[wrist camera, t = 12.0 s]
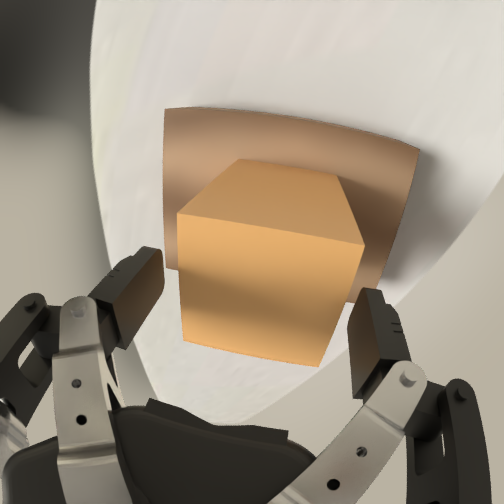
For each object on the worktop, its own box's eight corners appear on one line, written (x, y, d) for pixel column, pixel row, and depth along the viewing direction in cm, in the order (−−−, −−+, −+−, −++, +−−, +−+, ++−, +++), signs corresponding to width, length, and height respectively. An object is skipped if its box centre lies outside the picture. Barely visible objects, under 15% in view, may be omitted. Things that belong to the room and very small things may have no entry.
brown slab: (188, 107, 19) (107, 116, 11) (400, 140, 18) (467, 173, 9) (184, 244, 25) (129, 317, 17) (361, 276, 24) (380, 366, 15)
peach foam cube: (238, 158, 17) (177, 213, 9) (336, 175, 16) (364, 245, 8) (228, 279, 21) (187, 377, 13) (307, 294, 21) (302, 400, 13)
